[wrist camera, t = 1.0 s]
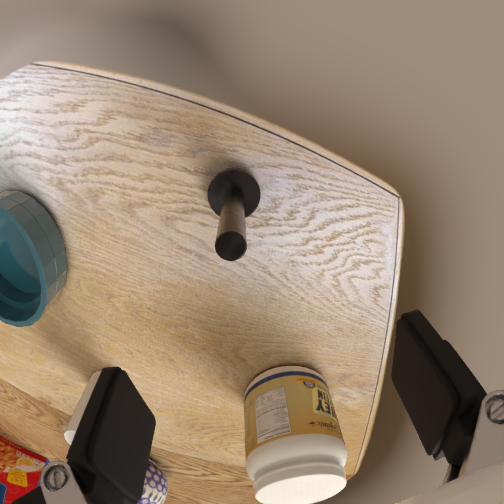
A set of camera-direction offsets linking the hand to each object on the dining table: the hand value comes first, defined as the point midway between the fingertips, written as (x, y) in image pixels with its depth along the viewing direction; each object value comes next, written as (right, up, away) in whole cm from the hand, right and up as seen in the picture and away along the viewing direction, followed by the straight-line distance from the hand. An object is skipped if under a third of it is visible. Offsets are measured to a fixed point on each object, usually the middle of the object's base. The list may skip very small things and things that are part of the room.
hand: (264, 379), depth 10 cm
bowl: (-30, +5, +22) cm, 37 cm away
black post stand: (-2, +10, +21) cm, 23 cm away
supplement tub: (+4, -16, +32) cm, 36 cm away
